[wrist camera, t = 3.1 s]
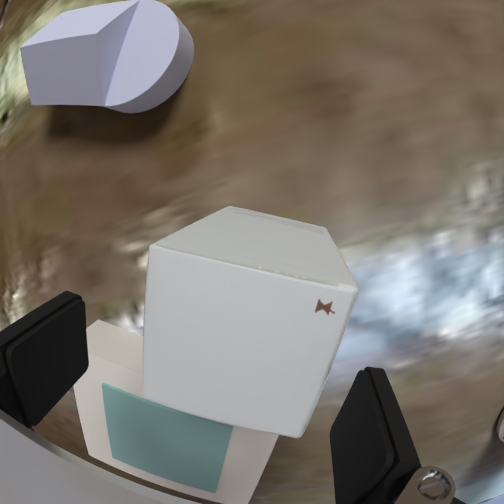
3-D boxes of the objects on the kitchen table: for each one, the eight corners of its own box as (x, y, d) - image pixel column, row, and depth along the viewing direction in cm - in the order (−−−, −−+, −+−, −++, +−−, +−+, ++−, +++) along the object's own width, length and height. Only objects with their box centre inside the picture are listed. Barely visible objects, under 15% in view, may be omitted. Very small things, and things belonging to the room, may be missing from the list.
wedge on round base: (55, 109, 22) (177, 118, 21) (4, 100, 16) (134, 100, 15) (82, 23, 20) (207, 17, 19) (39, 0, 13) (179, -27, 12)
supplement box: (226, 203, 22) (146, 235, 10) (328, 226, 22) (369, 288, 9) (209, 297, 24) (137, 399, 12) (302, 320, 23) (303, 444, 11)
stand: (289, 374, 25) (286, 416, 20) (252, 475, 29) (245, 510, 24) (98, 319, 26) (65, 345, 21) (107, 428, 30) (88, 456, 25)
